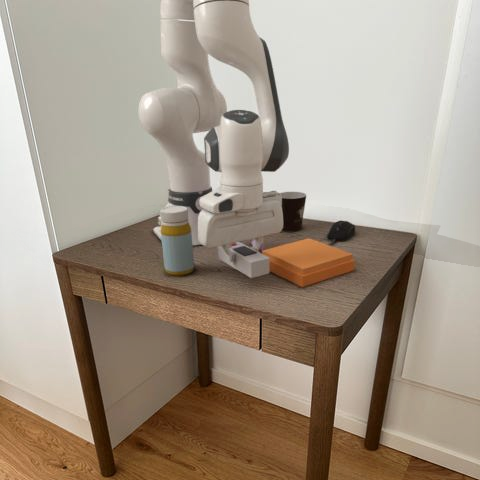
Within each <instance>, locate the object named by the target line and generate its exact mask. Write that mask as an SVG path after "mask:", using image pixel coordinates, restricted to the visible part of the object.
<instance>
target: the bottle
mask: <svg viewBox="0 0 480 480" xmlns="http://www.w3.org/2000/svg"><path fill="white" fill-rule="evenodd" d="M160 214H161V222H162V227H161V240H162V241H161V240H160V241H161V248H162V256H163V265H164V271H165V272H166V273H167V274H168V275H169V276H172V277H181V276H182V277H183V276H186V275H190V274H191V273H192V272H193V271H194V269H195V259H194V245H192V233H191V227H190V225H189V220H188V209H187V207H184V206H169V207H166V206H164V207H161V209H160V210H159V215H160Z"/></svg>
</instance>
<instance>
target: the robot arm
mask: <svg viewBox="0 0 480 480" xmlns="http://www.w3.org/2000/svg"><path fill="white" fill-rule="evenodd" d="M159 20H160V21H159V25H160V54H161V58H162V60H163V61H164V63H165V64H166V65H168V66H169V67H170V68H172V70H173V71H174V74H175V76H176V81H177V86H176V87H161V88H160V87H159V88H157V89H154V90H151V91H149V92H146V93H145V94H143V95H142V96H141V98H140V101H139V103H138V109H137V110H138V111H137V113H138V114H137V115H138V119H139V122H140V124H141V126H142V128H143V130H145V132H146V133H147V134H149V135H150V136H151V137H152V138H154V139H155V141H156V142H157V143H158V146H159V147H160V148H161V150H162V152H163V155H164V157H165V161H166V166H167V171H168V179H169V189H167V191H168V192H167V197H168V199H167V202H168V203H167V204H166V205H165V207H169V206H184V207H187V209H188V220H189V225H190V227H191V233H192V245H193V246H202V247H205V248H206V249H213V248H218V246H221V247H222V249H223V250H224V252H225V253H226V260H227V261H228V262H234V261H235V260H236V258H235V257H236V254H234V253H233V252H231V251H230V249H229V248H231V243H235V242H240V243H241V242H243V241H248V240H253V239H255V241H254V243H253V245H252V246H249V247H250V248H252V249H254V250H255V251H257V252H259V253H260V249H259V248H260V246H261V244H262V242H263V243H264V237H266V236H271V235H276V234H279V233H281V232H282V229H283V212H282V196H281V195H280V193H281V192H278V191H277V190H271V191H264V178H263V174H262V172H267V173H275V172H277V171H278V170H279V169H280V168H281V167H282V166H283V165H284V164H285V163H286V161H287V160H288V159H289V153H290V145H289V144H290V143H289V138H288V134H287V130H286V127H285V123H284V120H283V115H282V110H281V105H280V100H279V94H278V89H277V82H276V77H275V72H274V68H273V62H272V58H271V55H270V51H269V47H268V45H267V42H266V40H264V39H263V38H262V37H260V36H259V34H258V33H257V31H256V29H255V27H254V24H253V22H252V18H251V12H250V0H160V4H159ZM209 56H210V57H212V58H213V59H215V60H217V61H218V62H221V63H222V64H226V65H228V66H230V67H233V68H235V69H237V70H238V71H241V73H244V74H245V75H246V76H247V77H248V78H249V80H250V81H251V83H252V87H253V90H254V96H255V101H256V106H257V110H258V114H257V113H256V112H254V111H251V110H246V109H232V110H229V111H228V108H227V107H228V105H227V101H226V98H225V96H224V94H223V93H222V92H221V91H220V89H218V87H217V86H216V84H215V83H216V82H215V81H214V79H213V78H214V77H213V76H212V71H211V68H210V61H209ZM204 132H207V133H206V134H205V136H204V138H203V143H204V151H202V150H200V149H199V148H198V147H197V145H196V143H195V139H194V134H197V133H204ZM210 169H212V170H213V171H214V172H218V173H221V177H220V181H219V184H220V185H219V186H218V187H217V188H215V189H214V190H213V187H212V186H211V171H210ZM277 194H278V195H277ZM157 224H158V225H157V226H155V227H154V228H153V233H154V234H155V235H156V237H158V239H159V240H160V241H161V242H162V240H161V227H162V222H161V214H160V213H159V216H158V217H157Z"/></svg>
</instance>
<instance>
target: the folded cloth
mask: <svg viewBox="0 0 480 480" xmlns="http://www.w3.org/2000/svg"><path fill="white" fill-rule="evenodd" d="M261 254H263V255H265V256H267V257H269V258H270V267H269V273H270V272H271V273H272V274H275V275H277V276H279V277H281V278H283V279H285V280H287V281H289V282H290V283H293V284H295V285H296V286H299V287H301V288H304V287H307V286H310V285H314V284H317V283H319V282H322V281H325V280H329V279H331V278H336V277H338V276H341V275H344V274H347V273H350V272H354V271H355V264H356V263H355V262H356V260H355V259H353V253H350V252H347V251H344V250H342V249H340V248H337V247H334V246H332V245H330V244H329V245H328V244H326V243H323V242H320V241H317V240H316V239H312V238H310V237H309V238H305V239H302V240H298V241H293V242H290V243H289V242H288V243H285V244H282V245H278V246H274V247H270V248H267V249H263V250H261Z"/></svg>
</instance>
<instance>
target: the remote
mask: <svg viewBox="0 0 480 480" xmlns="http://www.w3.org/2000/svg"><path fill="white" fill-rule="evenodd" d="M250 247H251V246H248V245H246V244H244V243H242V242H241V241H240V242H235V243H231V248H229V249H230V251H231V252H233V253H234V254H236V257H235V258H236V260H235V261H234V262H228V261H227V260H226V253H225V252H224V250H223V249H222V247H221V246H218V247H217V259H218V260H220V261H222V262H223V263H225V264H227V265H229V266H230V267H232V268H234V270H236V271H239V272H240V273H242V274H243V275H245V276H247V278H250V279H253V278H257V277H261V276H265V275H268V274H270V271H269V267H270V258H269V257H267V256H265V255H263V254H262V252H260V251H259V252H257V251H255V250H254V249H252V248H250Z"/></svg>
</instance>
